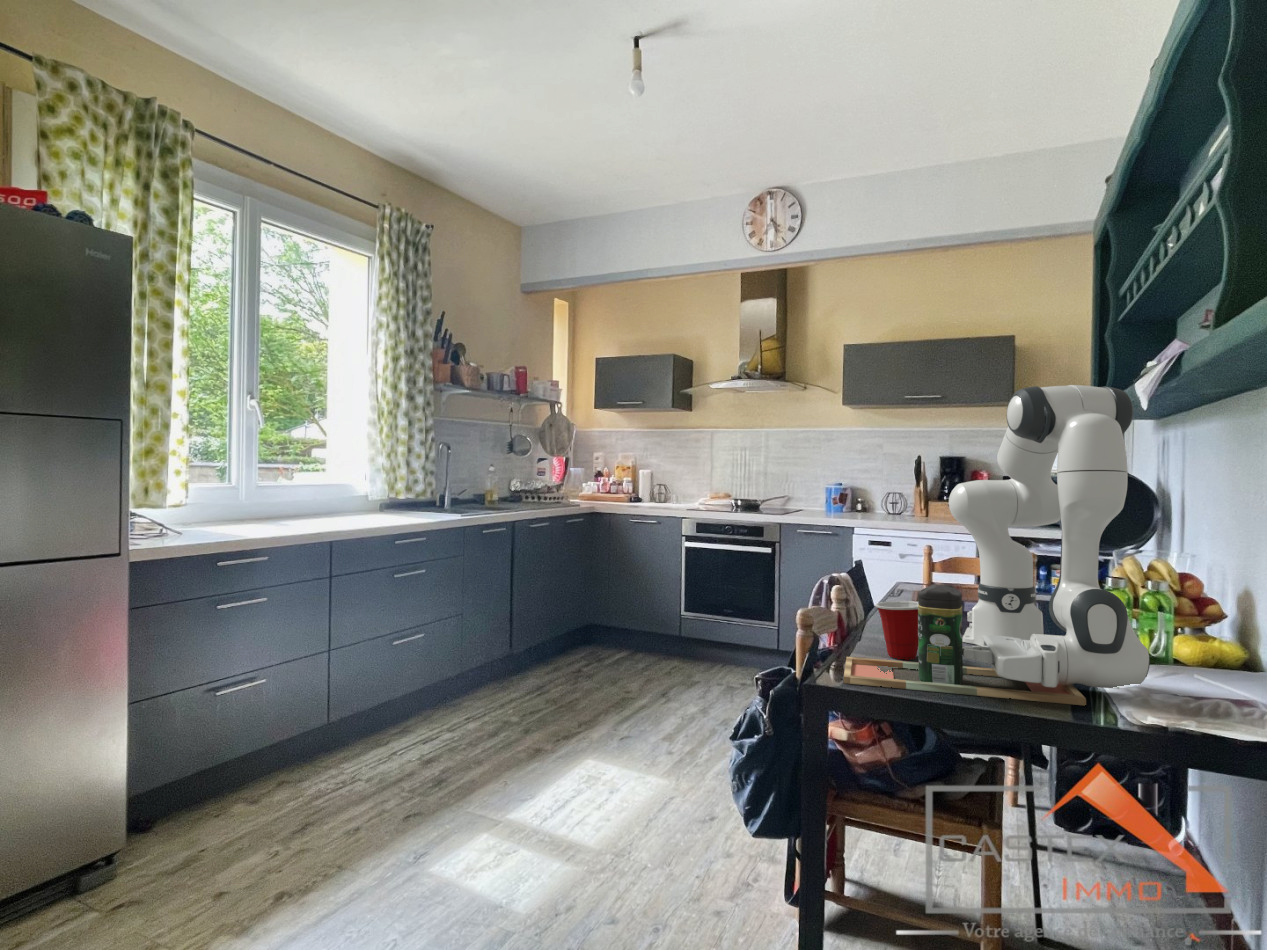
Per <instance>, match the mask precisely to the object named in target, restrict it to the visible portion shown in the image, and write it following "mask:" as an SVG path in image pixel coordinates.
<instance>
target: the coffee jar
mask: <svg viewBox="0 0 1267 950" xmlns="http://www.w3.org/2000/svg"><path fill="white" fill-rule="evenodd" d="M917 598H918V599H917V602H918V663H919V670H918V680H919V681H921V682H932V683H943V684H954V685H962V682H963V679H964V678H963V677H964V674H963V666H964V663H963V662H964V661H963V660H964V659H963V658H964V657H963V655H962V647H963V641H962V639H963V595H962V592H961V591H960V590H958V589H956V588H955V587H954V585H953V586H952V585H949V584H948V585H947V584H935V583H934V584H930V585H929V586H926V587H924V588H922V589H921V590H919V592H918V597H917Z"/></svg>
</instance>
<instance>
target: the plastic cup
mask: <svg viewBox="0 0 1267 950" xmlns="http://www.w3.org/2000/svg"><path fill="white" fill-rule="evenodd" d="M874 606H875V607H876V608H877V610H878V614H879V617H880V619H881V620H880V621H881V626H882V630H883V637H884V641H885V646H886V652H887V655H889V656H890V657H889V656H888V657H889V658H891V657H893V658H892V659H894V658H897V659H896V660H899V659H905V660H904V661H911V659H913V660H916V658H917V655H918V652H919V646H918V601H912V600H895V601H894V600H891V601H890V600H889V601H881V602H877V603H876V604H875V605H874ZM909 659H910V660H909Z"/></svg>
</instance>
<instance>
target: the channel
mask: <svg viewBox="0 0 1267 950" xmlns="http://www.w3.org/2000/svg"><path fill="white" fill-rule="evenodd" d="M852 664H857V665H870V666H888V667H898V668H908V669H907V670H910V669H916V670H915V671H919V661H918V662H916V661H907V660H895V659H894V660H891V659H890V660H889V659H882V658H881V659H880V658H879V659H877V658H867V657H855V656H846V659H845V664H844V665H845V666H844V673H843V684H849V685H862V686H871V687H872V686H873V687H880V686H882V687H883V688H891V687H892V688H893V689H894V688H895V689H903V690H904V689H905V690H913V691H924V692H925V691H926V692H933V693H934V692H935V693H936V692H937V693H946V694H947V693H948V694H954V695H955V694H957V695H969V696H980V697H990V698H1001V699H1009V698H1011V699H1012V700H1021V701H1032V702H1033V701H1035V702H1042V703H1043V702H1044V703H1053V704H1055V703H1056V704H1064V705H1065V704H1066V705H1075V706H1076V705H1078V706H1085V705H1086V706H1087V697H1085V696H1084V695H1083V694H1082V693H1081V692H1080V691H1079V690H1078V689H1077V688H1076V686H1074V684H1066V685H1064V684H1061V685H1062V687H1063V688H1064V689H1065V690H1066V691H1067V692H1068V693H1069V694H1070V695H1066V694H1055V693H1044V692H1033V691H1031V690H1021V689H1020V690H1019V689H1007V688H997V687H985V686H976V685H975V686H974V685H973V686H972V685H965V684H960V685H954V684H943V683H932V682H921V681H920V680H919V681H918V680H908V679H897V678H896V679H895V678H894V679H887V678H876V677H865V676H853V675H851V671H852ZM898 668H897V669H898ZM917 669H918V670H917ZM969 674H973V675H972V676H981V675H983V676H982V677H993V678H994V677H995V678H1001V677H1000V676H998V675H997V673H996V672H995V670H994V669H993V667H992V668H990V667H977V666H965V665H963V675H969ZM882 687H881V688H882ZM892 688H891V689H892Z"/></svg>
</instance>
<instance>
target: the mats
mask: <svg viewBox="0 0 1267 950" xmlns="http://www.w3.org/2000/svg"><path fill="white" fill-rule="evenodd" d="M877 668H878V667H877V666H869V665H857V664H852V671H851V675H853V676H865V677H876V678H887V679H895V678H894V676H895V675H894V671H893V672H892V671H891V670H890V671H891V672H889V670H888V671H887V672H885V673H884V672H883V671H881V670H880V668H878V669H879V670H878V669H877ZM880 671H881V672H880ZM886 673H887V674H886ZM1024 683H1025V685H1027V687H1028V688H1029V689H1030V690H1029V691H1033V692H1044V693H1055V694H1066V695H1070V694H1069V693H1068V692H1067V691H1066V690H1065V689H1064V688H1063V687H1062V685H1061V684H1057V686H1056V687H1044V686H1043V685H1042V684H1041V683H1032V682H1024Z"/></svg>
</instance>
